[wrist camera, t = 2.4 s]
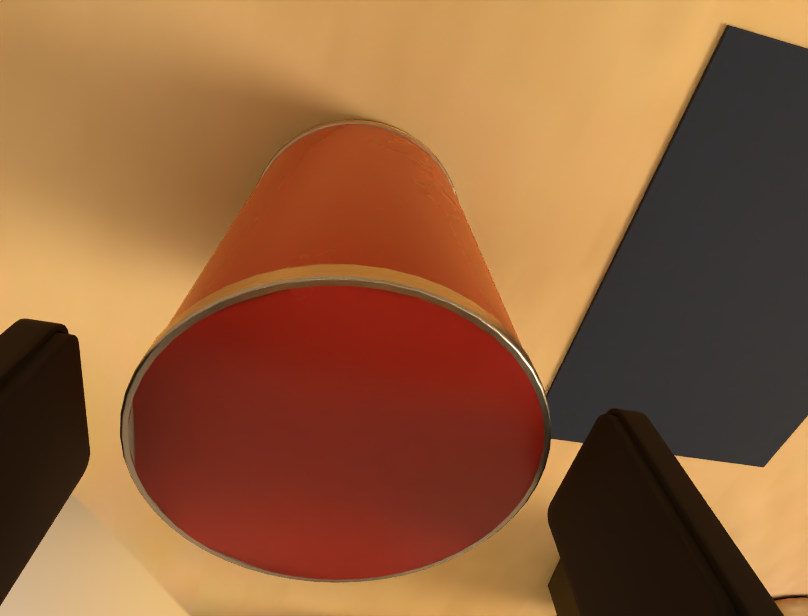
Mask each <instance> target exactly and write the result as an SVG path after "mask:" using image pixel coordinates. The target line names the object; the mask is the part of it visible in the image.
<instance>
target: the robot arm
mask: <svg viewBox="0 0 808 616" xmlns="http://www.w3.org/2000/svg"><path fill="white" fill-rule="evenodd" d="M89 457H90V446H89V437H88V427H87V417H86V408H85V398H84V388H83V379H82V369H81V359H80V350H79V342H78V338H77V337H76V336H75V335H71V334H69V333H68V329H67V328H66V326H65V325H62V324H58V323H52V322H45V321H38V320H32V319H20V320H18V321H17V322H15V323H14V324H13V325H12V326H10V327H9V328H8V329H7V330H6V331H5V332H3V333H2V334H1V335H0V605H1V604H2V602H3V601H4V599H5V597H6V596H7V594H8V592H9V591H10V590H11V588H12V586H13V585H14V583H15V582H16V580H17V579H18V577H19V575H20V574H21V572H22V570H23V569H24V567H25V566H26V564H27V563H28V561H29V559H30V558H31V556H32V555H33V553H34V552H35V550H36V548H37V547H38V545H39V544H40V542H41V540H42V539H43V537H44V536H45V534H46V533H47V531H48V529H49V528H50V526H51V525H52V523H53V522H54V520H55V518H56V517H57V515H58V514H59V512H60V510H61V509H62V507H63V506H64V504H65V503H66V501H67V499H68V498H69V496H70V495H71V493H72V492H73V490H74V488H75V487H76V485H77V484H78V482H79V480H80V479H81V477H82V476H83V474H84V472H85V470H86V468H87V465H88V462H89ZM548 523H549V526H550V529H551V532H552V535H553V538H554V541H555V544H556V546H557V549H558V552H559V555H560V558H561V561H562V564H563V567H564V569H565V572H566V575H567V578H568V581H569V584H570V587H571V590H572V593H573V595H574V598H575V601H576V604H577V607H578V610H579V613H580V616H784V615H783V613H782V612H781V610H780V609H779V607H778V606H777V604H776V603H775V601H774V600H773V599H772V597H771V596H770V594H769V593H768V591H767V590H766V588H765V587H764V585H763V584H762V583H761V581H760V580H759V578H758V577H757V575H756V574H755V572H754V571H753V569H752V568H751V567H750V565H749V564H748V562H747V561H746V559H745V558H744V556H743V555H742V553H741V552H740V551H739V549H738V548H737V546H736V545H735V543H734V542H733V540H732V539H731V537H730V536H729V535H728V533H727V532H726V530H725V529H724V527H723V526H722V524H721V523H720V521H719V520H718V519H717V517H716V516H715V514H714V513H713V511H712V510H711V508H710V507H709V505H708V504H707V503H706V501H705V500H704V498H703V497H702V495H701V494H700V492H699V491H698V489H697V488H696V487H695V485H694V484H693V482H692V481H691V479H690V478H689V476H688V475H687V473H686V472H685V471H684V469H683V468H682V466H681V465H680V463H679V462H678V460H677V459H676V457H675V456H674V455H673V453H672V452H671V450H670V449H669V447H668V446H667V444H666V443H665V441H664V440H663V439H662V437H661V436H660V434H659V433H658V431H657V430H656V428H655V427H654V425H653V424H652V423H651V421H650V420H649V418H648V417H647V416H646V415H645V414H644V413H642V412H637V411H631V410H624V409H618V408H612V409H610V410H608V411H607V412H606V414H602V415H600V416H599V417H598V418H597V420H596V421H595V423H594V425H593V427H592V429H591V430H590V432H589V434H588V436H587V438H586V440H585V441H584V443H583V445H582V447H581V449H580V450H579V452H578V454H577V456H576V458H575V459H574V461H573V463H572V465H571V467H570V468H569V470H568V472H567V474H566V476H565V478H564V479H563V481H562V483H561V485H560V487H559V488H558V490H557V492H556V494H555V496H554V497H553V499H552V501H551V503H550V505H549V508H548Z"/></svg>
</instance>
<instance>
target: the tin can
mask: <svg viewBox="0 0 808 616" xmlns="http://www.w3.org/2000/svg"><path fill="white" fill-rule="evenodd" d="M120 438H121V444H122V450H123V456H124V459H125V462H126V465H127V467H128V470H129V473H130V475H131V478H132V479H133V481H134V483H135V485H136V486H137V488H138V490H139V492H140V493H141V495H142V496H143V498H144V499H145V500H146V501H147V503H148V504H149V505H150V506H151V508H152V509H153V510H154V511H155V512H156V513H157V514H158V515H159V516H160V517H161V518H162V519H163V520H164V521H165V522H166V523H167V524H168V525H169V526H170V527H171V528H173V529H174V530H175V531H177V532H178V533H179V534H181V535H182V536H183V537H184V538H186V539H187V540H189V541H190V542H192V543H194V544H195V545H197V546H199V547H200V548H202V549H204V550H205V551H207V552H209V553H211V554H213V555H215V556H218V557H220V558H222V559H224V560H226V561H229V562H231V563H234V564H237V565H239V566H242V567H245V568H247V569H251V570H254V571H258V572H262V573H265V574H269V575H274V576H279V577H284V578H289V579H296V580H305V581H314V582H361V581H370V580H379V579H386V578H391V577H396V576H402V575H406V574H410V573H413V572H417V571H421V570H424V569H427V568H430V567H433V566H435V565H438V564H441V563H444V562H446V561H448V560H451V559H453V558H455V557H457V556H459V555H461V554H463V553H465V552H467V551H469V550H471V549H472V548H474V547H476V546H477V545H479V544H481V543H483V542H484V541H485V540H487V539H488V538H489V537H491V536H492V535H493V534H495V533H496V532H498V531H499V530H500V529H501V528H502V527H503V526H504V525H506V524H507V523H508V522H509V521H510V520H511V519H512V518H513V517H514V516H515V515H516V514H517V513H518V511H519V510H520V509H521V508H522V507H523V506H524V504H525V503H526V502H527V501H528V499H529V497H530V496H531V494H532V493H533V491H534V490H535V488H536V486H537V485H538V482H539V480H540V478H541V476H542V473H543V471H544V469H545V466H546V462H547V458H548V454H549V450H550V441H551V418H550V409H549V405H548V401H547V398H546V395H545V391H544V388H543V386H542V383H541V381H540V379H539V377H538V374H537V372H536V370H535V368H534V366H533V364H532V362H531V361H530V359H529V357H528V355H527V353H526V352H525V351H524V349H523V348H522V346H521V344H520V341H519V339H518V337H517V334H516V332H515V330H514V328H513V325H512V323H511V321H510V318H509V316H508V314H507V312H506V309H505V307H504V305H503V302H502V300H501V298H500V296H499V293H498V291H497V289H496V286H495V284H494V282H493V280H492V277H491V275H490V273H489V270H488V268H487V266H486V264H485V261H484V259H483V257H482V254H481V252H480V250H479V247H478V245H477V243H476V241H475V238H474V236H473V234H472V231H471V229H470V227H469V225H468V222H467V220H466V218H465V215H464V213H463V211H462V209H461V206H460V204H459V202H458V198H457V195H456V192H455V189H454V186H453V184H452V182H451V180H450V178H449V176H448V174H447V172H446V170H445V169H444V167H443V166H442V164H441V163H440V161H439V160H438V159H437V158H436V157H435V156H434V154H433V153H432V152H431V151H430V150H429V149H428V148H427V147H425V146H424V145H423V144H422V143H421V142H420V141H418V140H417V139H415V138H414V137H412V136H410V135H409V134H407V133H406V132H403V131H401V130H399V129H397V128H395V127H392V126H389V125H386V124H382V123H379V122H373V121H367V120H341V121H333V122H329V123H325V124H322V125H318V126H316V127H314V128H311V129H309V130H306V131H305V132H303V133H301V134H300V135H298V136H296V137H295V138H293V139H292V140H291V141H289V142H288V143H287V144H286V145H284V146H283V147H282V148H281V149H280V150H279V152H278V153H277V154H276V155H275V156H274V157H273V158H272V160H271V161H270V163H269V164H268V166H267V167H266V169H265V170H264V172H263V174H262V176H261V178H260V180H259V182H258V185H257V186H256V188H255V189H254V191H253V192H252V194H251V196H250V197H249V199H248V200H247V202H246V203H245V205H244V207H243V208H242V210H241V211H240V213H239V214H238V216H237V218H236V219H235V221H234V222H233V224H232V226H231V227H230V229H229V230H228V232H227V233H226V235H225V237H224V238H223V240H222V241H221V243H220V244H219V246H218V248H217V249H216V251H215V252H214V254H213V255H212V257H211V259H210V260H209V262H208V263H207V265H206V266H205V268H204V270H203V271H202V273H201V274H200V276H199V277H198V279H197V281H196V282H195V284H194V285H193V287H192V288H191V290H190V292H189V293H188V295H187V296H186V298H185V299H184V301H183V303H182V304H181V306H180V307H179V309H178V310H177V312H176V314H175V315H174V317H173V318H172V320H171V321H170V323H169V325H168V326H167V327H166V328H165V329H164V330H163V331H162V333H161V334H160V335H159V336H158V337H157V338H156V339H155V341H154V342H153V344H152V345H151V347H150V348H149V350H148V351H147V353H146V354H145V356H144V357H143V359H142V360H141V362H140V363H139V365H138V366H137V368H136V369H135V371H134V373H133V376H132V378H131V380H130V383H129V385H128V387H127V389H126V392H125V396H124V401H123V405H122V409H121V420H120Z"/></svg>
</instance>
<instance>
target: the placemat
mask: <svg viewBox="0 0 808 616" xmlns="http://www.w3.org/2000/svg"><path fill="white" fill-rule="evenodd" d="M546 398H547V401H548V405H549V409H550V418H551V439H558V440H566V441H573V442H581V443H584V441H585V440H586V438H587V436H588V434H589V432H590V430H591V429H592V427H593V425H594V423H595V421H596V420H597V418H598V417H599V416H600V415H602V414H606V412H607V411H608V410H610V409H612V408H618V409H624V410H631V411H637V412H642V413H644V414H645V415H646V416H647V417H648V418H649V420H650V421H651V423H652V424H653V425H654V427H655V428H656V430H657V431H658V433H659V434H660V436H661V437H662V439H663V440H664V441H665V443H666V444H667V446H668V447H669V449H670V450H671V452H672V453H673V455H677V456H684V457H692V458H699V459H707V460H714V461H721V462H729V463H736V464H744V465H751V466H758V467H764V466H765V465H766V464H767V463H768V462H769V460H770V459H771V458H772V457H773V456H774V454H775V453H776V452H777V451H778V450H779V449H780V447H781V446H782V445H783V444H784V443H785V442H786V440H787V439H788V438H789V437H790V436H791V435H792V433H793V432H794V431H795V430H796V429H797V428H798V426H799V425H800V424H801V423H802V422H803V421H804V419H805V418H806V417H807V416H808V49H806V48H803V47H800V46H796V45H793V44H790V43H786V42H783V41H780V40H776V39H773V38H770V37H766V36H763V35H759V34H756V33H753V32H749V31H746V30H743V29H739V28H736V27H733V26H727V28H726V30H725V32H724V34H723V36H722V38H721V40H720V42H719V44H718V46H717V48H716V50H715V52H714V54H713V56H712V58H711V60H710V62H709V64H708V66H707V68H706V71H705V73H704V75H703V77H702V79H701V81H700V83H699V85H698V87H697V89H696V91H695V93H694V95H693V97H692V99H691V101H690V103H689V105H688V107H687V109H686V111H685V113H684V116H683V118H682V120H681V122H680V124H679V126H678V128H677V130H676V132H675V134H674V136H673V138H672V140H671V142H670V144H669V146H668V148H667V150H666V152H665V154H664V156H663V158H662V161H661V163H660V165H659V167H658V169H657V171H656V173H655V175H654V177H653V179H652V181H651V183H650V185H649V187H648V189H647V191H646V193H645V195H644V197H643V199H642V201H641V204H640V206H639V208H638V210H637V212H636V214H635V216H634V218H633V220H632V222H631V224H630V226H629V228H628V230H627V232H626V234H625V236H624V238H623V240H622V242H621V244H620V246H619V249H618V251H617V253H616V255H615V257H614V259H613V261H612V263H611V265H610V267H609V269H608V271H607V273H606V275H605V277H604V279H603V281H602V283H601V285H600V287H599V289H598V291H597V294H596V296H595V298H594V300H593V302H592V304H591V306H590V308H589V310H588V312H587V314H586V316H585V318H584V320H583V322H582V324H581V326H580V328H579V330H578V332H577V334H576V336H575V339H574V341H573V343H572V345H571V347H570V349H569V351H568V353H567V355H566V357H565V359H564V361H563V363H562V365H561V367H560V369H559V371H558V373H557V375H556V377H555V379H554V382H553V384H552V386H551V388H550V390H549V392H548V394H547V396H546Z"/></svg>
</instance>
